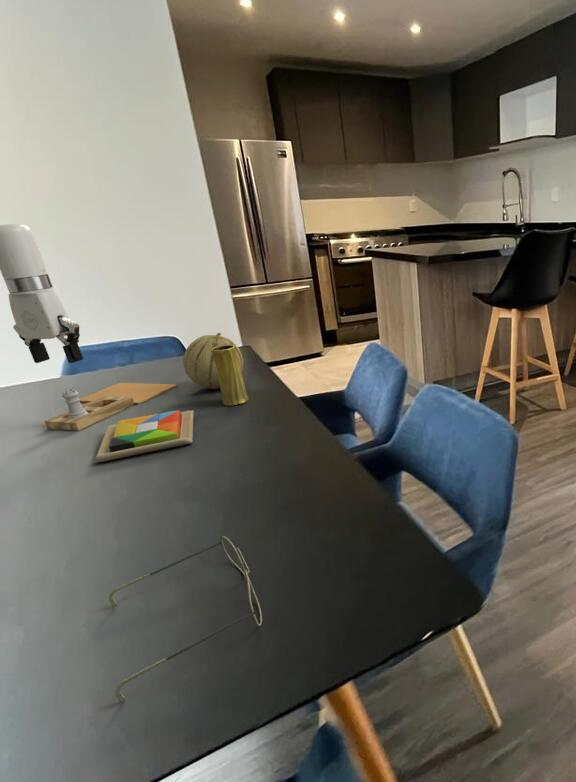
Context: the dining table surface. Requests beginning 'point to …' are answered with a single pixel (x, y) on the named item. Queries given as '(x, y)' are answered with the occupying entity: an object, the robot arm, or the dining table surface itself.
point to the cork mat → (131, 391)
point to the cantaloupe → (206, 360)
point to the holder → (90, 413)
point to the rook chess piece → (74, 404)
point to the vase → (229, 375)
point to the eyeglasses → (113, 604)
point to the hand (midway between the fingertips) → (59, 361)
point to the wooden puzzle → (146, 435)
